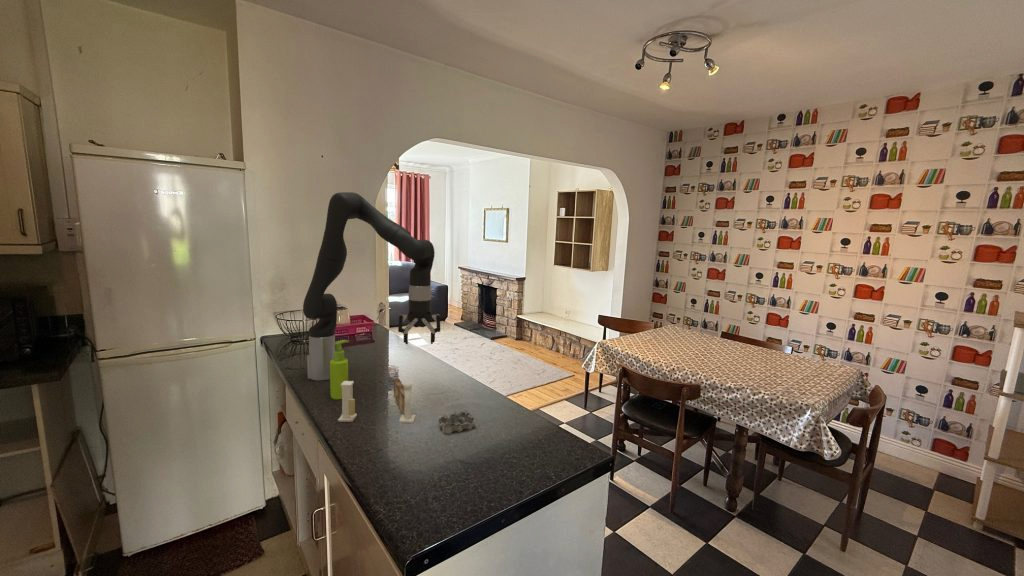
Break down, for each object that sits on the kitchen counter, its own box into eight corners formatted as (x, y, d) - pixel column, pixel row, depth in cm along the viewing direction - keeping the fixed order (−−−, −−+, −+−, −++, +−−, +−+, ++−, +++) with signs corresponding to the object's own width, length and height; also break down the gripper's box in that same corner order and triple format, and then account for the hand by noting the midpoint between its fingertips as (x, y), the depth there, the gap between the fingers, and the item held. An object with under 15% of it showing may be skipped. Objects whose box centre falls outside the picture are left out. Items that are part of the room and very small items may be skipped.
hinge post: (399, 422, 127) (399, 384, 125) (402, 416, 131) (402, 379, 129) (413, 423, 127) (413, 385, 125) (415, 416, 131) (416, 379, 129)
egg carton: (443, 436, 121) (443, 423, 120) (436, 424, 127) (436, 412, 127) (476, 429, 125) (476, 417, 125) (468, 419, 132) (468, 407, 131)
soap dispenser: (354, 393, 146) (353, 340, 143) (338, 400, 140) (338, 345, 137) (342, 390, 148) (341, 337, 145) (326, 396, 142) (325, 342, 139)
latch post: (337, 421, 125) (337, 385, 124) (343, 414, 130) (342, 380, 128) (353, 421, 126) (353, 385, 124) (358, 415, 130) (358, 380, 128)
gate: (392, 396, 143) (393, 378, 142) (398, 395, 144) (398, 378, 143) (403, 415, 130) (403, 396, 129) (409, 414, 131) (409, 395, 130)
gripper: (397, 299, 133) (397, 347, 135) (441, 300, 136) (440, 346, 139) (399, 295, 140) (398, 340, 143) (440, 296, 143) (439, 340, 146)
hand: (419, 343), depth 141 cm, fingers open, 8 cm apart
